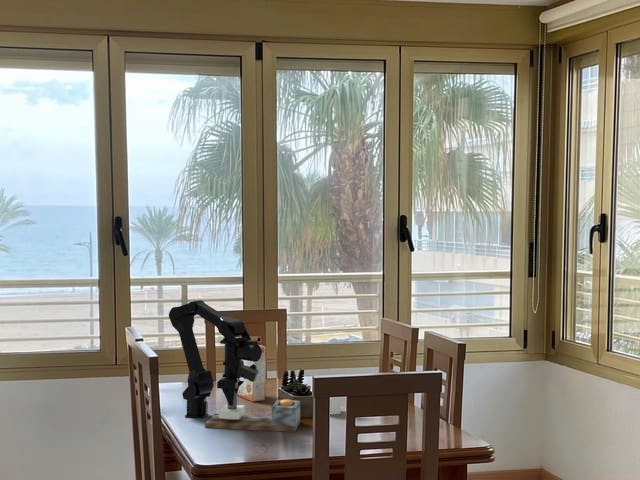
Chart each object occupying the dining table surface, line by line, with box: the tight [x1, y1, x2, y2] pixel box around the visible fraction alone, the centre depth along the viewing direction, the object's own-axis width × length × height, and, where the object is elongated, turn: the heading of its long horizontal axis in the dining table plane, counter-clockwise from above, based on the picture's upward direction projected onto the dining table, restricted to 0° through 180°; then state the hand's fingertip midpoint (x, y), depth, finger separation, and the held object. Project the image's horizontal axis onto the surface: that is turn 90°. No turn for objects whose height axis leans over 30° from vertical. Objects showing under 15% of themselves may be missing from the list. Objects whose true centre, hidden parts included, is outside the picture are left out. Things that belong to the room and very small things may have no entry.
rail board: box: [204, 399, 301, 433], centre depth 236 cm, size 30×12×8 cm, turn 84°
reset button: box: [280, 398, 292, 406], centre depth 235 cm, size 4×4×2 cm
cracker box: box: [237, 344, 267, 402], centre depth 274 cm, size 14×6×21 cm, turn 35°
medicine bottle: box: [330, 397, 342, 416], centre depth 253 cm, size 7×7×12 cm
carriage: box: [218, 393, 246, 419], centre depth 237 cm, size 7×9×7 cm
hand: (232, 404), depth 237 cm, fingers closed on carriage, 3 cm apart
